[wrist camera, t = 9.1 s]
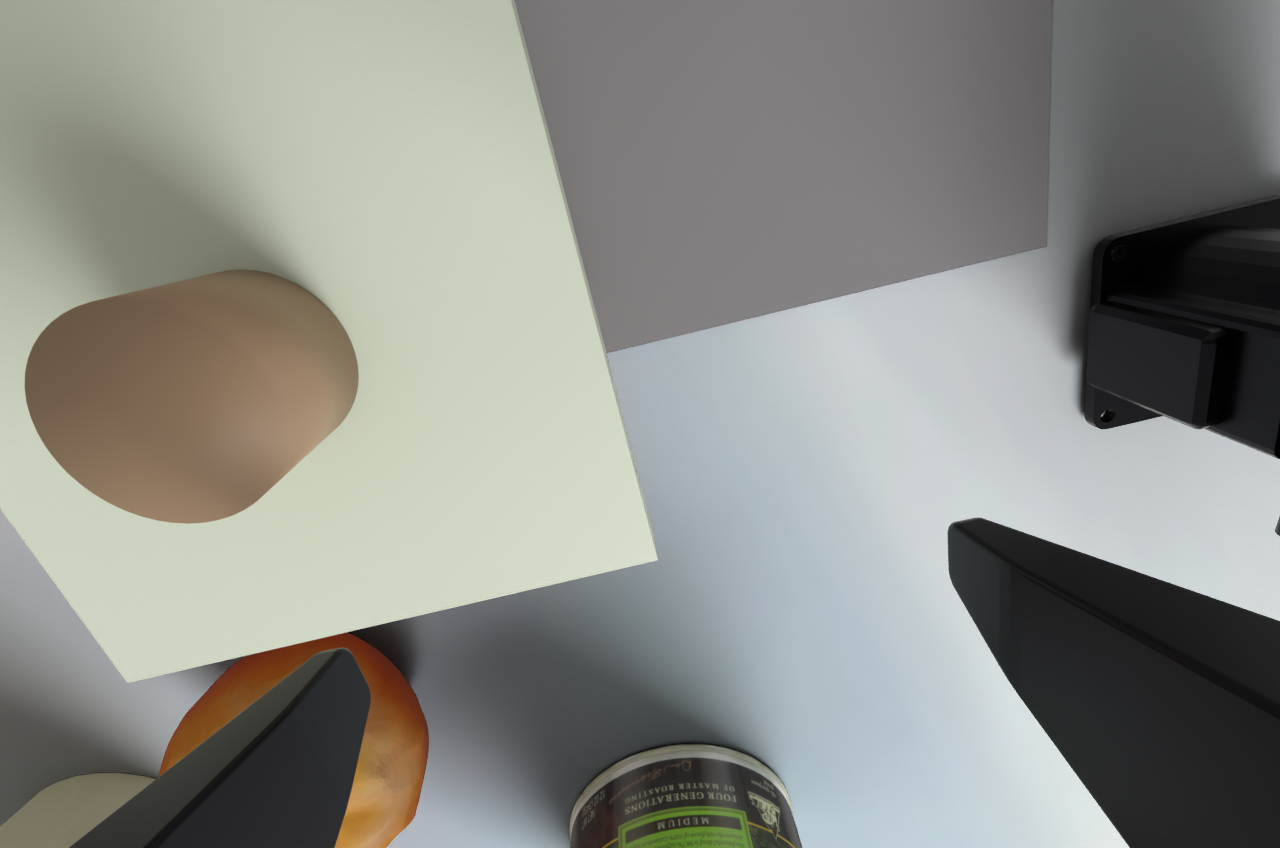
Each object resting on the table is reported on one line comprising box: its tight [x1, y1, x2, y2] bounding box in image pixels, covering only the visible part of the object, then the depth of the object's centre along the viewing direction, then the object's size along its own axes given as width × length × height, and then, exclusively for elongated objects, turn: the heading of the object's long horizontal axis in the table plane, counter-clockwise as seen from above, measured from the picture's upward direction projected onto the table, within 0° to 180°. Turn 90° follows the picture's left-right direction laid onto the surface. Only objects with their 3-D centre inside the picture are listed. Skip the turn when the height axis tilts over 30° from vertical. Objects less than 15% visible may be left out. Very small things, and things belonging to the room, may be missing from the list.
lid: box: [0, 0, 658, 683], centre depth 11 cm, size 13×13×4 cm
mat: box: [515, 0, 1053, 353], centre depth 16 cm, size 14×14×1 cm
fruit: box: [158, 633, 429, 848], centre depth 21 cm, size 8×8×8 cm
